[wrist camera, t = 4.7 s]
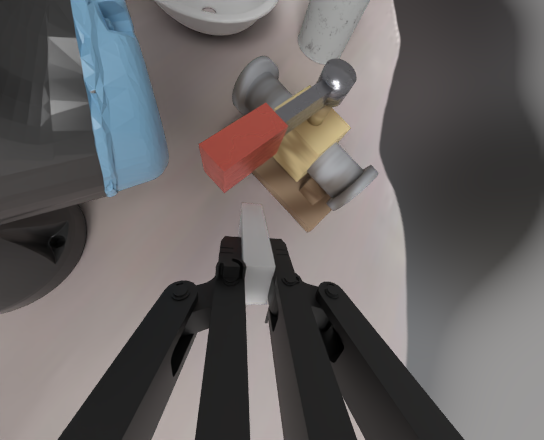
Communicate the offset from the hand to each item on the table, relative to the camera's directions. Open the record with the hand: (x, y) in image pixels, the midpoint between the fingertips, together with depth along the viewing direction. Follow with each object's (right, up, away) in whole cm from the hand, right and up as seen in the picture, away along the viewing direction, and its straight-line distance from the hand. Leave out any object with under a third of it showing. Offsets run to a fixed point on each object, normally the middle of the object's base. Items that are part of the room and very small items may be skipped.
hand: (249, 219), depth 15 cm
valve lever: (+3, +8, +3) cm, 9 cm away
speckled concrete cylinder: (+11, +36, +26) cm, 46 cm away
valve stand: (+4, +9, +17) cm, 20 cm away
